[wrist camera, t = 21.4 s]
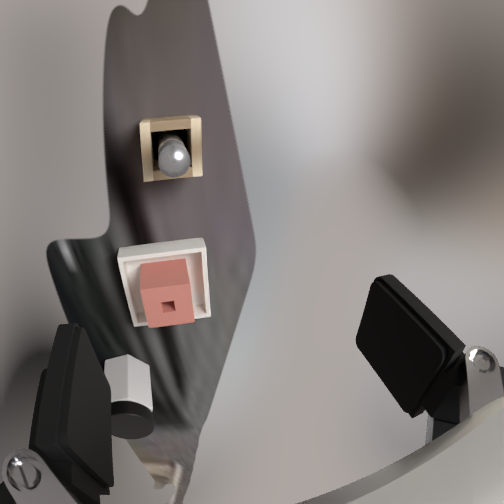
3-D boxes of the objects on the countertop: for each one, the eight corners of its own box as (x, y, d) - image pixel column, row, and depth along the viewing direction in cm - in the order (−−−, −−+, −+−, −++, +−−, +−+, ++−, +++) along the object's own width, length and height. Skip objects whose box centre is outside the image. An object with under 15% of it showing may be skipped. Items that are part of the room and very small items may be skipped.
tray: (119, 247, 38) (117, 258, 36) (202, 237, 41) (206, 247, 39) (134, 314, 44) (134, 326, 41) (207, 304, 46) (210, 316, 44)
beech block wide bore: (143, 119, 32) (139, 123, 27) (194, 114, 33) (201, 117, 28) (146, 168, 35) (144, 182, 30) (195, 163, 36) (202, 175, 31)
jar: (104, 350, 45) (100, 409, 35) (151, 356, 48) (156, 415, 38) (103, 382, 49) (102, 438, 39) (146, 387, 52) (151, 442, 42)
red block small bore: (140, 263, 40) (139, 289, 34) (185, 258, 41) (190, 283, 36) (148, 300, 42) (148, 328, 37) (189, 294, 44) (194, 321, 39)
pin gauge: (157, 131, 33) (157, 148, 23) (180, 129, 34) (189, 144, 24) (159, 153, 34) (159, 179, 24) (181, 151, 35) (191, 175, 25)
